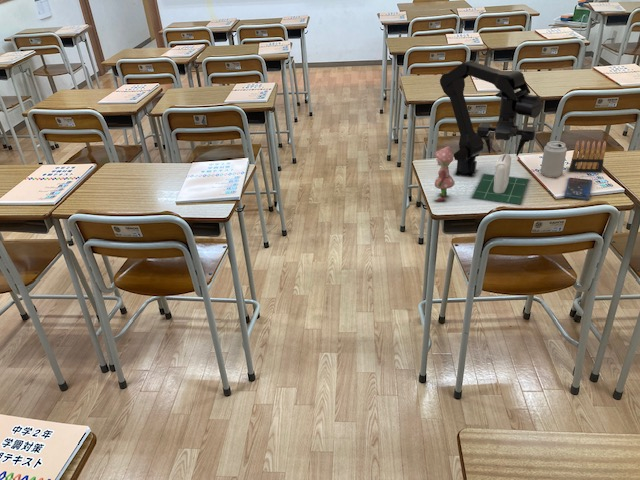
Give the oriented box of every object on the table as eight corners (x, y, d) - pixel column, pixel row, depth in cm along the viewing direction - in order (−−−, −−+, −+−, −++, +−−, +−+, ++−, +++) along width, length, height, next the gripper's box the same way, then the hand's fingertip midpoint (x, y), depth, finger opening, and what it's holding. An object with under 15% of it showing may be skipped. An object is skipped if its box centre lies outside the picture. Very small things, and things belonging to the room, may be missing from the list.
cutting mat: (472, 198, 172) (472, 197, 171) (483, 174, 186) (483, 173, 186) (519, 204, 165) (520, 203, 164) (528, 179, 179) (528, 178, 179)
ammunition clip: (600, 170, 180) (607, 139, 173) (601, 172, 178) (608, 141, 172) (568, 169, 183) (574, 139, 176) (569, 171, 181) (575, 141, 175)
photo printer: (497, 180, 180) (500, 149, 173) (509, 182, 178) (513, 151, 171) (491, 193, 173) (495, 161, 166) (504, 194, 171) (508, 162, 164)
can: (564, 178, 177) (569, 147, 171) (542, 178, 179) (547, 147, 173) (559, 169, 183) (565, 139, 177) (538, 169, 185) (543, 140, 179)
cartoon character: (450, 206, 168) (453, 152, 157) (429, 203, 171) (431, 151, 160) (456, 193, 176) (459, 141, 165) (437, 191, 178) (439, 139, 168)
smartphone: (592, 179, 172) (589, 198, 162) (591, 181, 173) (588, 200, 162) (568, 177, 176) (564, 195, 165) (568, 179, 176) (563, 197, 166)
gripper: (474, 117, 161) (470, 160, 170) (534, 121, 153) (527, 166, 161) (482, 106, 169) (478, 148, 178) (539, 110, 161) (532, 154, 169)
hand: (503, 154), depth 171 cm, fingers open, 9 cm apart
